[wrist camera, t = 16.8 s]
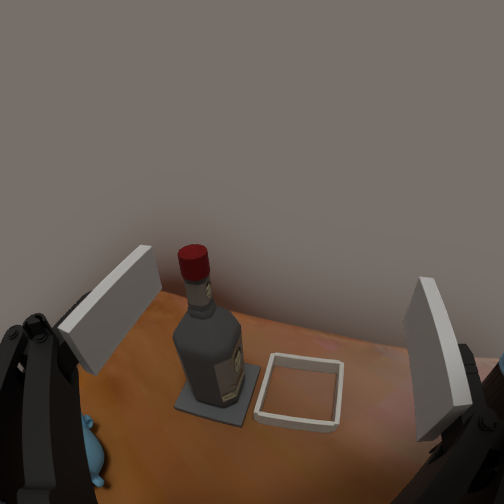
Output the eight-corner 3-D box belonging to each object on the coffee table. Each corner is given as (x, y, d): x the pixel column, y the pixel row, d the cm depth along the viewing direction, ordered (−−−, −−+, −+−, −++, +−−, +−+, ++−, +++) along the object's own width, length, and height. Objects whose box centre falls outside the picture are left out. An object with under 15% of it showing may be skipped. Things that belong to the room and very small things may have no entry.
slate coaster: (260, 369, 54) (260, 366, 53) (241, 427, 42) (241, 425, 42) (201, 356, 57) (200, 353, 56) (175, 409, 45) (173, 406, 45)
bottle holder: (340, 370, 52) (344, 360, 50) (334, 433, 40) (338, 426, 38) (271, 361, 55) (271, 351, 53) (253, 421, 43) (253, 414, 41)
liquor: (187, 399, 46) (141, 267, 31) (204, 364, 54) (177, 231, 38) (234, 412, 44) (213, 278, 29) (248, 373, 52) (239, 237, 36)
